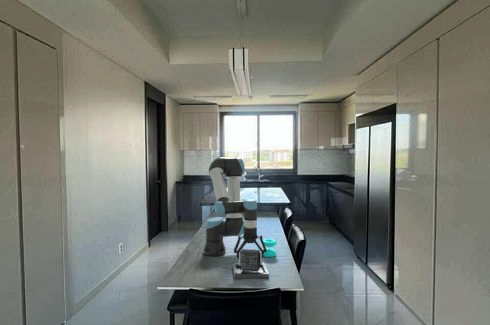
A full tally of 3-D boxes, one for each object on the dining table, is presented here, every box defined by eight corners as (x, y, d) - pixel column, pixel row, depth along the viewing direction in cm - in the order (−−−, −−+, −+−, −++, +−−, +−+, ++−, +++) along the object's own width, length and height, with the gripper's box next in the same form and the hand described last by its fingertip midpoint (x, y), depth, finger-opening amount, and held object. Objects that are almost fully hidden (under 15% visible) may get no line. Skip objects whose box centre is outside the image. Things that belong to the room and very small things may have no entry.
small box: (260, 267, 187) (260, 249, 186) (258, 271, 180) (257, 253, 180) (242, 265, 189) (242, 248, 189) (239, 270, 183) (239, 252, 183)
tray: (234, 279, 176) (234, 274, 176) (232, 267, 193) (232, 263, 192) (268, 278, 178) (268, 273, 177) (263, 266, 195) (264, 262, 194)
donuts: (270, 243, 207) (258, 240, 213) (270, 258, 208) (258, 255, 214) (279, 240, 215) (267, 237, 221) (279, 254, 215) (267, 251, 222)
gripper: (229, 228, 179) (229, 267, 180) (272, 228, 181) (271, 265, 182) (229, 225, 186) (228, 262, 187) (269, 224, 189) (269, 261, 190)
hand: (250, 264), depth 185 cm, fingers closed on small box, 12 cm apart
